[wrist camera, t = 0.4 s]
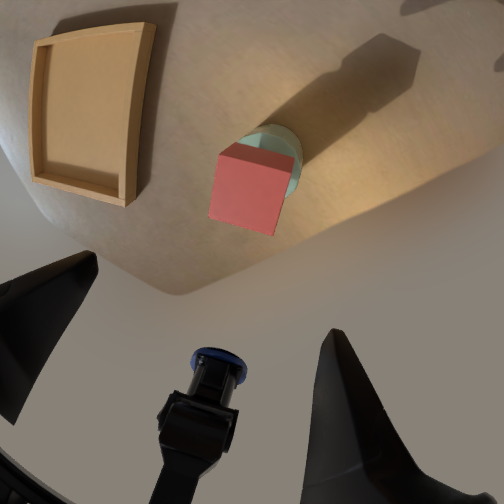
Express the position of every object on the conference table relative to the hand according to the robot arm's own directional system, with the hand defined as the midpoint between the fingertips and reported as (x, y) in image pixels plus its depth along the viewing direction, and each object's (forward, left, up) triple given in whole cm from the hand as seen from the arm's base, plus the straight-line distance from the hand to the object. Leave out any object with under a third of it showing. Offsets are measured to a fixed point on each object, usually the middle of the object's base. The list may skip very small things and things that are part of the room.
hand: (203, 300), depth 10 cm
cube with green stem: (+2, 0, -15) cm, 15 cm away
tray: (+3, +19, -15) cm, 24 cm away
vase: (+2, 0, -15) cm, 15 cm away
